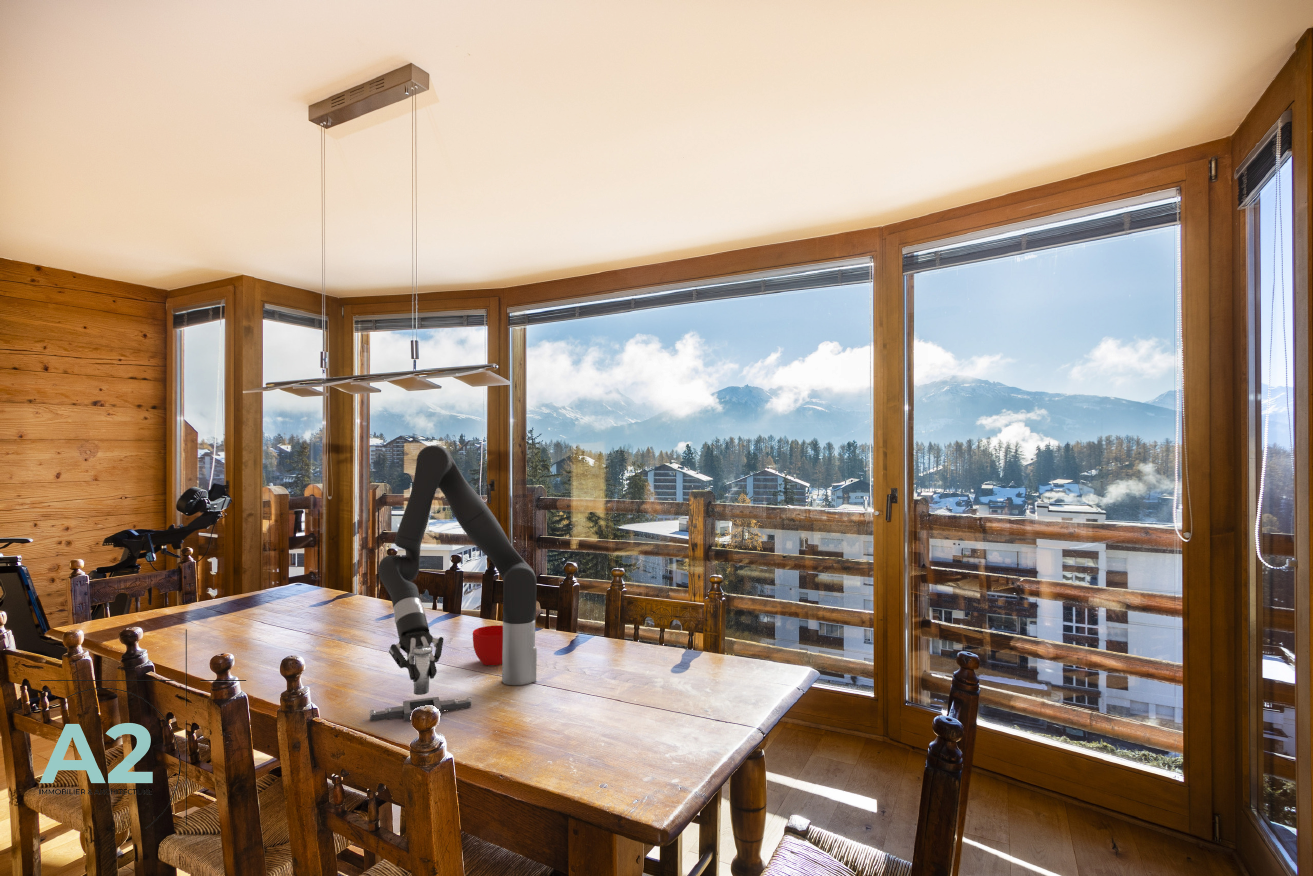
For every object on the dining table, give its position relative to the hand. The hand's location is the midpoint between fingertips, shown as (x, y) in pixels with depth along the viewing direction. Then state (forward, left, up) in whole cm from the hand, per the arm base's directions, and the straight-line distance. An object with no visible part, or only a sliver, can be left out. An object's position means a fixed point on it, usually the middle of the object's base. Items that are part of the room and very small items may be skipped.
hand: (424, 678), depth 161 cm
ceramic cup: (-24, -35, -9) cm, 43 cm away
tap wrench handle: (0, -2, -9) cm, 9 cm away
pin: (+1, -2, -4) cm, 4 cm away
